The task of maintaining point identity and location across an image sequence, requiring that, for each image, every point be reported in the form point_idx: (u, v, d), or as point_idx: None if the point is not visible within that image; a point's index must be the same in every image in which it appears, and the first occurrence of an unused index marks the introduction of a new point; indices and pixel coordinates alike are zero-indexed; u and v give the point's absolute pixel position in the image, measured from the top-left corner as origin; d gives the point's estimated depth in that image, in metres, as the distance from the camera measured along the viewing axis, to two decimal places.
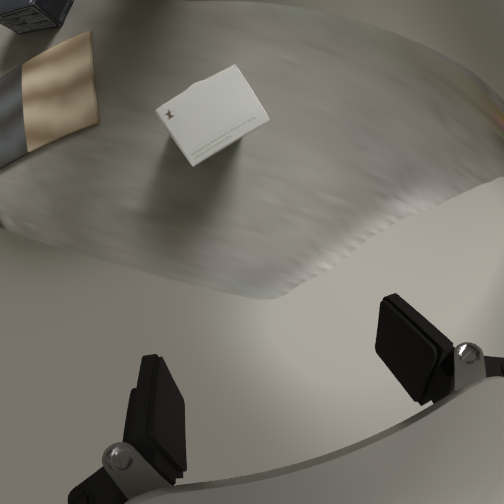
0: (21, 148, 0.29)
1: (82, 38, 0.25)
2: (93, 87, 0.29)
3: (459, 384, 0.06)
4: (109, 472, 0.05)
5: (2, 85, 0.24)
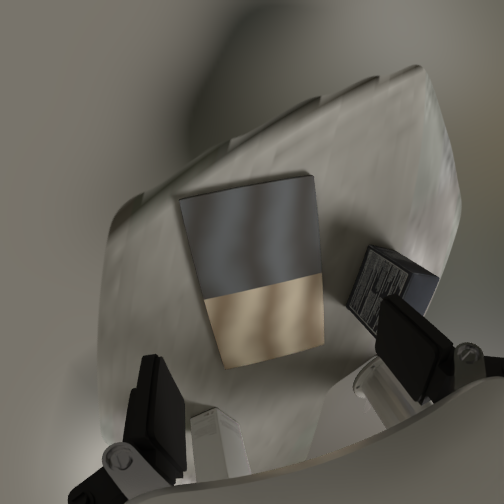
0: (210, 289, 0.35)
1: (317, 340, 0.41)
2: None
3: (459, 384, 0.06)
4: (109, 472, 0.05)
5: (307, 243, 0.35)
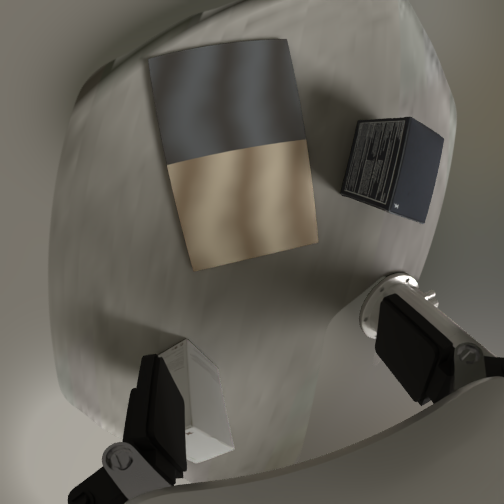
0: (174, 151, 0.28)
1: (309, 235, 0.35)
2: None
3: (459, 384, 0.06)
4: (109, 472, 0.05)
5: (285, 102, 0.28)
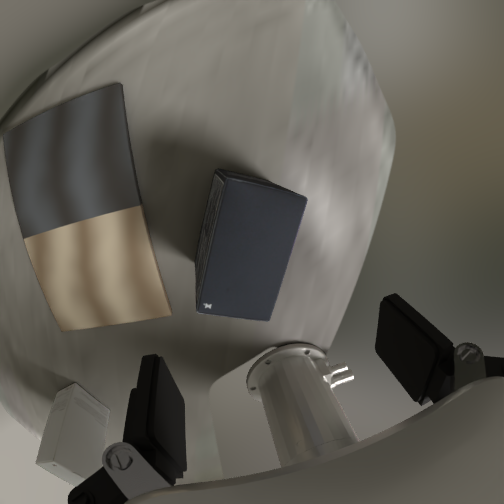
0: (26, 226, 0.24)
1: (159, 308, 0.30)
2: None
3: (459, 384, 0.06)
4: (109, 472, 0.05)
5: (115, 165, 0.24)
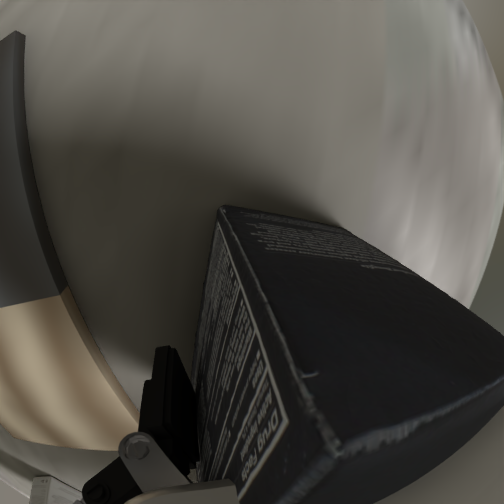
0: None
1: None
2: None
3: None
4: (126, 462, 0.05)
5: (1, 207, 0.08)
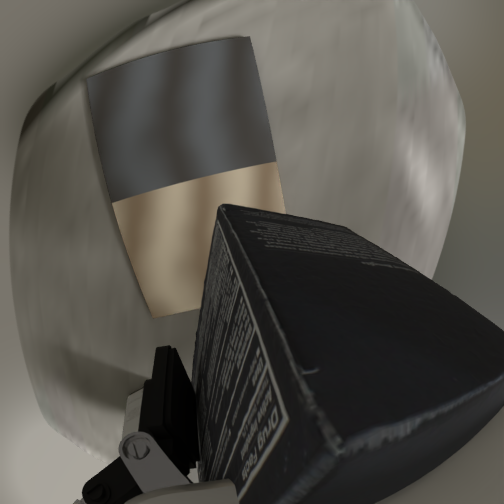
0: (118, 187, 0.23)
1: None
2: None
3: None
4: (126, 462, 0.05)
5: (248, 117, 0.23)
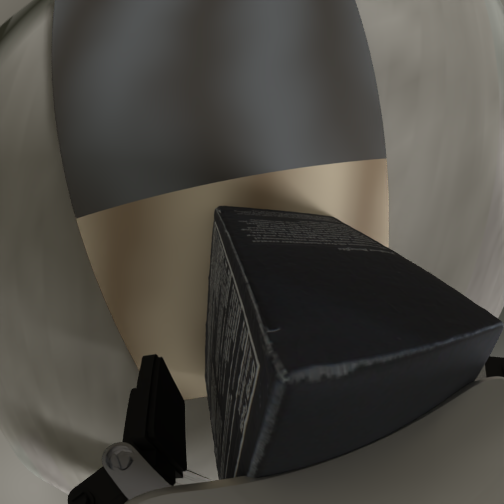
0: (88, 186, 0.11)
1: None
2: None
3: None
4: (109, 472, 0.05)
5: (347, 73, 0.11)
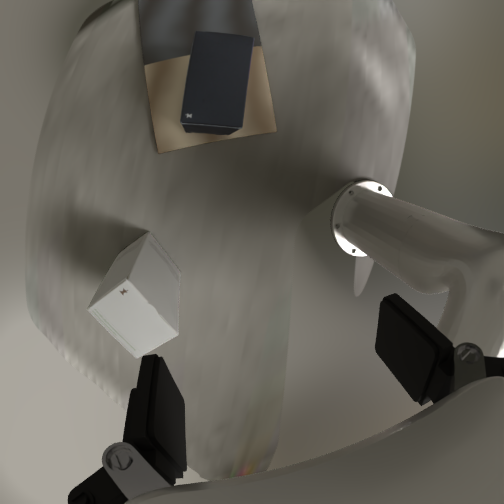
0: (151, 55, 0.28)
1: (267, 124, 0.35)
2: (199, 144, 0.34)
3: (459, 384, 0.06)
4: (109, 472, 0.05)
5: (243, 20, 0.28)
